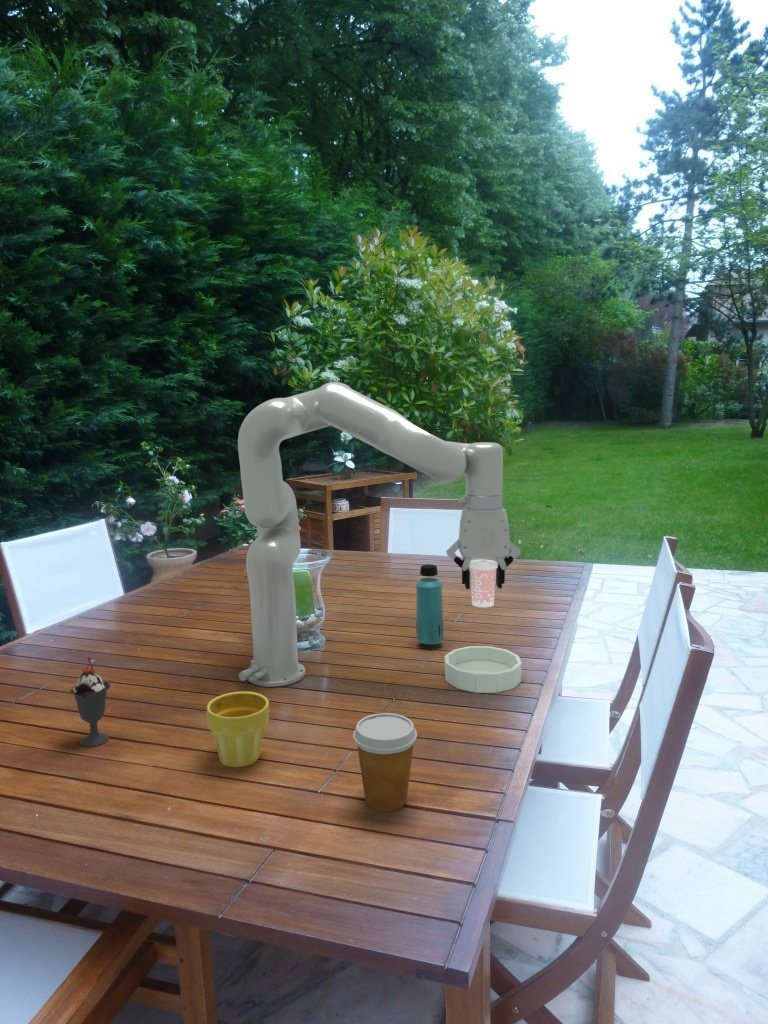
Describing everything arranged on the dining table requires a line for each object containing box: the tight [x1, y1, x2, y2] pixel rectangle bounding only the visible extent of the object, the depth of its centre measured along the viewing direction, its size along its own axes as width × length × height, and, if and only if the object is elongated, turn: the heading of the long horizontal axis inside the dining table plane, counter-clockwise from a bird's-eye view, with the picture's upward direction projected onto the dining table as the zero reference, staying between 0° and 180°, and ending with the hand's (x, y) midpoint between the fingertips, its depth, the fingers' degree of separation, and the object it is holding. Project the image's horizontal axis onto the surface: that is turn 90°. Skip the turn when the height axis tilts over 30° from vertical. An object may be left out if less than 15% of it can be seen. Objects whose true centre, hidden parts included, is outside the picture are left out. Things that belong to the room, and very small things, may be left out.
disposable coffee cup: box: [352, 712, 418, 813], centre depth 107 cm, size 10×10×12 cm
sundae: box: [69, 656, 111, 748], centre depth 126 cm, size 7×7×15 cm
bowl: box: [444, 645, 523, 694], centre depth 153 cm, size 16×16×4 cm
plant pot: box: [206, 691, 270, 768], centre depth 120 cm, size 10×10×10 cm
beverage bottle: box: [415, 564, 444, 645], centre depth 170 cm, size 6×7×20 cm
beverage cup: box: [468, 558, 498, 608], centre depth 149 cm, size 6×6×14 cm
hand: (483, 586), depth 149 cm, fingers closed on beverage cup, 6 cm apart
